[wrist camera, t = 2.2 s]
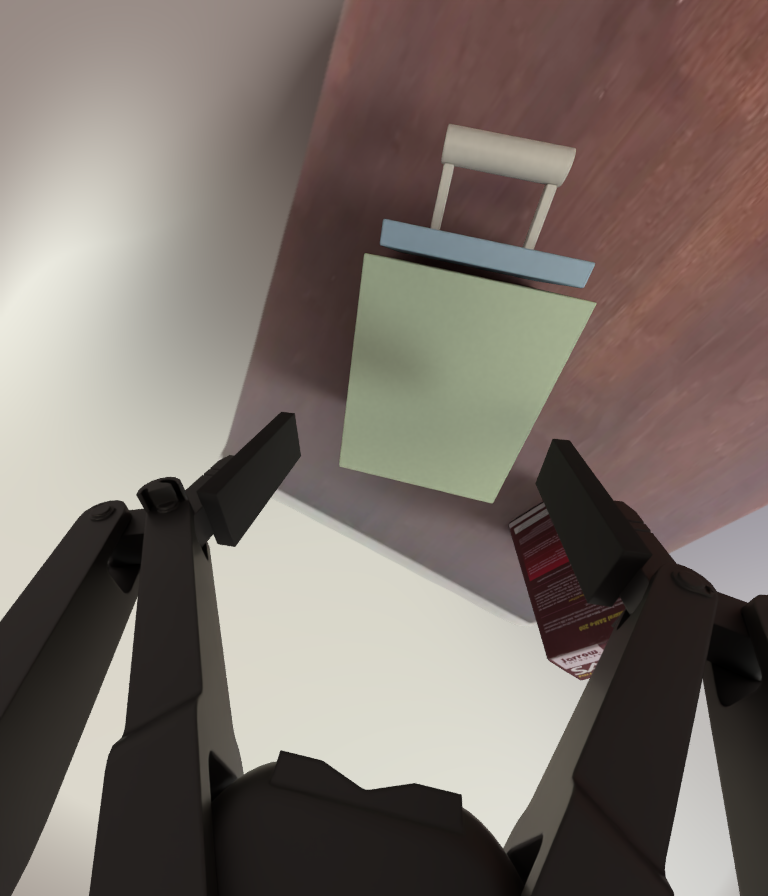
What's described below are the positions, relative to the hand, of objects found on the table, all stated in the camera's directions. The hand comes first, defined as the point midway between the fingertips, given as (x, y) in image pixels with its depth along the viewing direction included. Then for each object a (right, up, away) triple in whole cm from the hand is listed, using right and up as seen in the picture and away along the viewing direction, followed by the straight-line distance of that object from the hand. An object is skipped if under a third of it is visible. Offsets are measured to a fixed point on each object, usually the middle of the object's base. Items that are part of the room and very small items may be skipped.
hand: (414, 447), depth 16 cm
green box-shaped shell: (+4, +9, +13) cm, 17 cm away
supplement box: (+19, -8, +21) cm, 30 cm away
